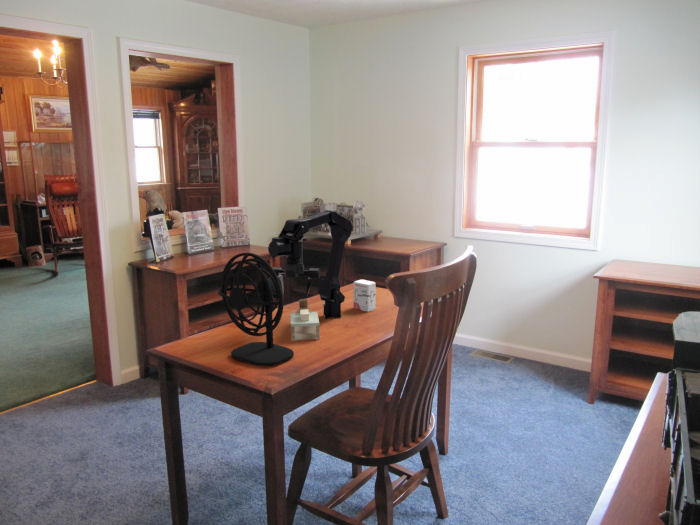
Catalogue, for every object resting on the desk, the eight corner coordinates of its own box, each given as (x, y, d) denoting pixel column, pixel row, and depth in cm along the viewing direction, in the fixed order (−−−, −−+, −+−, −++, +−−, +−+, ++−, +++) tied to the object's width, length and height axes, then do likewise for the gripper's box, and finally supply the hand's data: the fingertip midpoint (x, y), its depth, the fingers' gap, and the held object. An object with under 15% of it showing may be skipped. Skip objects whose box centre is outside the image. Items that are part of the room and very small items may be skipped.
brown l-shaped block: (307, 308, 215) (307, 298, 214) (308, 313, 208) (307, 303, 207) (299, 308, 214) (299, 299, 214) (299, 314, 208) (299, 304, 207)
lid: (317, 314, 211) (316, 305, 211) (319, 325, 198) (319, 316, 197) (290, 315, 210) (290, 306, 209) (290, 326, 197) (290, 317, 196)
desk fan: (211, 356, 183) (204, 251, 176) (250, 341, 197) (245, 243, 190) (271, 375, 168) (266, 261, 161) (309, 357, 182) (306, 251, 174)
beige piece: (316, 321, 218) (316, 307, 217) (319, 339, 199) (319, 323, 198) (290, 323, 217) (290, 308, 216) (291, 340, 198) (290, 324, 197)
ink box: (352, 308, 236) (352, 281, 234) (360, 305, 240) (360, 279, 238) (368, 312, 231) (368, 284, 228) (376, 309, 234) (376, 282, 232)
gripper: (264, 257, 199) (265, 299, 202) (316, 258, 197) (316, 301, 200) (271, 252, 210) (271, 292, 213) (320, 253, 208) (320, 294, 211)
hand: (294, 295), depth 209 cm, fingers open, 9 cm apart
